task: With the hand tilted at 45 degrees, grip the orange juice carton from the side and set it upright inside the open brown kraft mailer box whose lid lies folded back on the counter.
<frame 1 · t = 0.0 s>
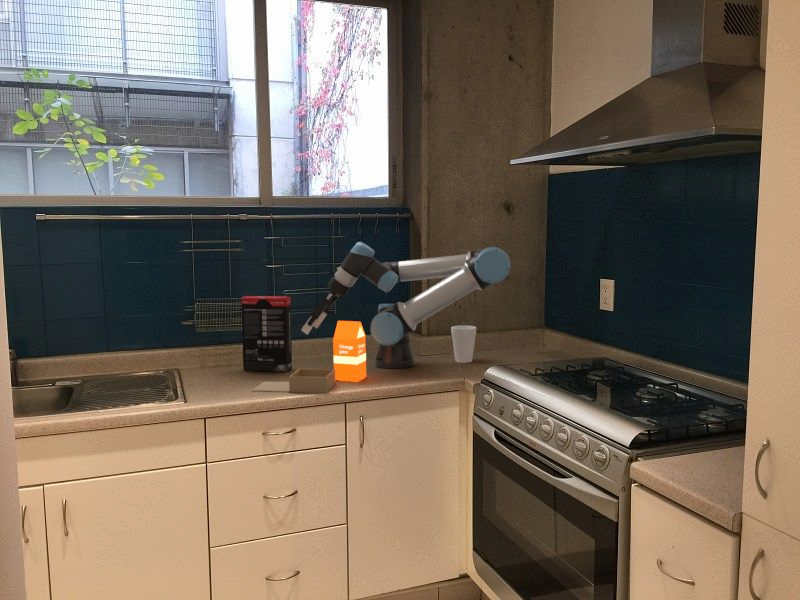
hand: (309, 329, 249), 15 cm above the worktop, tool tilted 35°, fingers open, 13 cm apart
graphics card box: (268, 370, 252), on the worktop
kraft mailer box: (313, 388, 225), on the worktop
orange juice: (350, 379, 238), on the worktop
foam cup: (463, 361, 265), on the worktop
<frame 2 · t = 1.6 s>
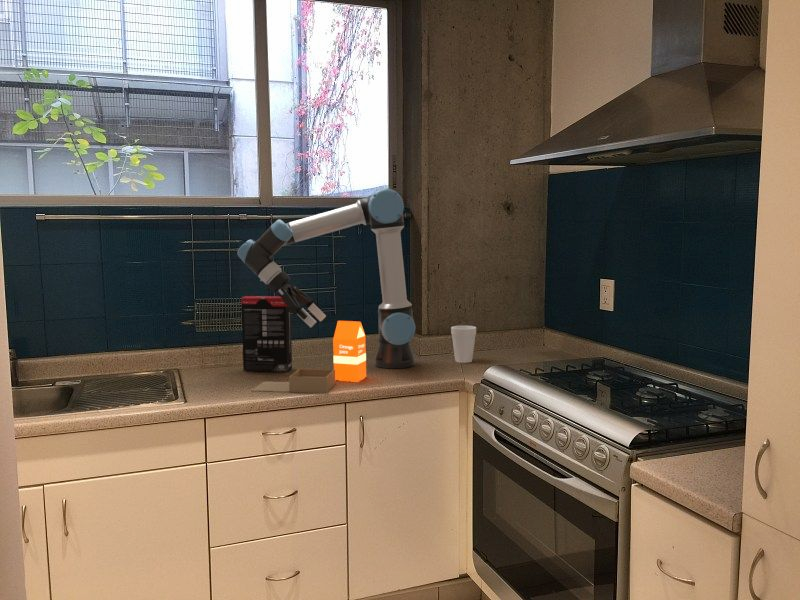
hand: (318, 321, 237), 20 cm above the worktop, tool tilted 45°, fingers open, 13 cm apart
nothing on the worktop moved.
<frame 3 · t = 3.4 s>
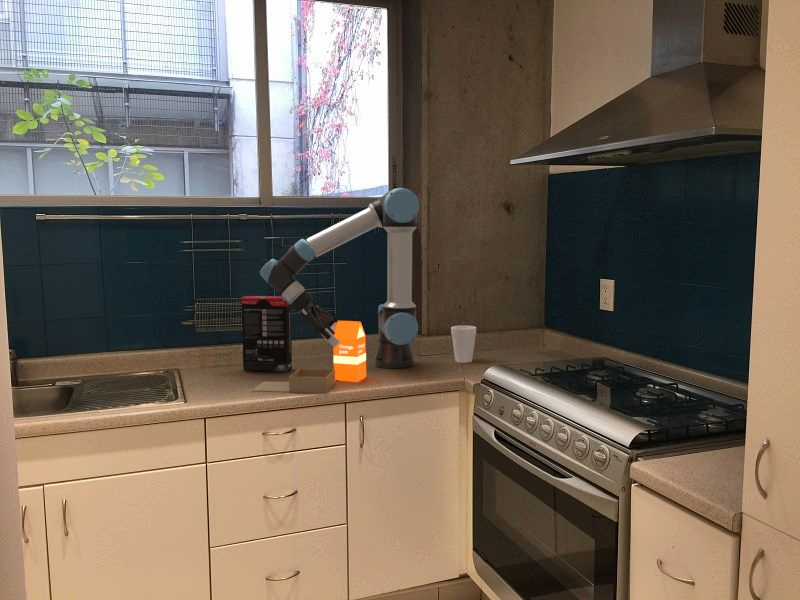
hand: (341, 341, 236), 13 cm above the worktop, tool tilted 45°, fingers open, 13 cm apart
nothing on the worktop moved.
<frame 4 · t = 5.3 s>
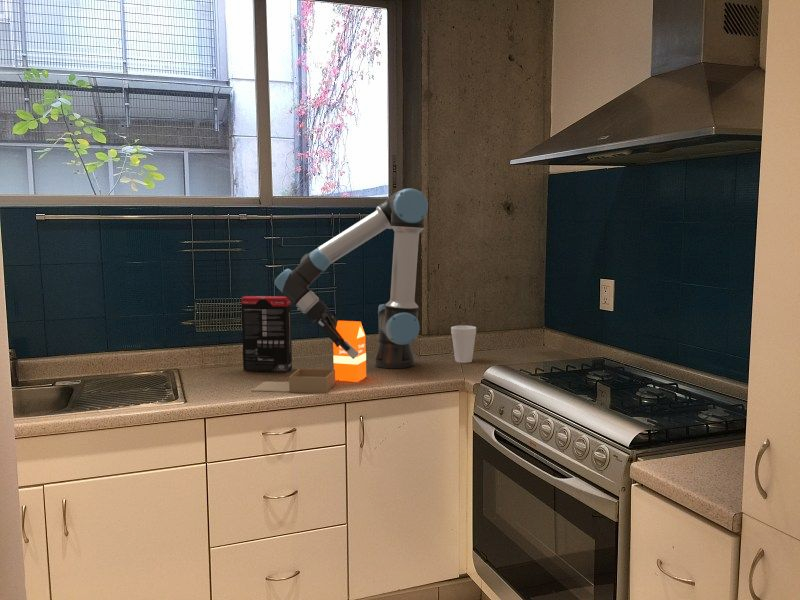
hand: (359, 353, 236), 9 cm above the worktop, tool tilted 45°, fingers closed on orange juice, 9 cm apart
orange juice: (350, 379, 238), on the worktop, touching gripper
everything else where it was.
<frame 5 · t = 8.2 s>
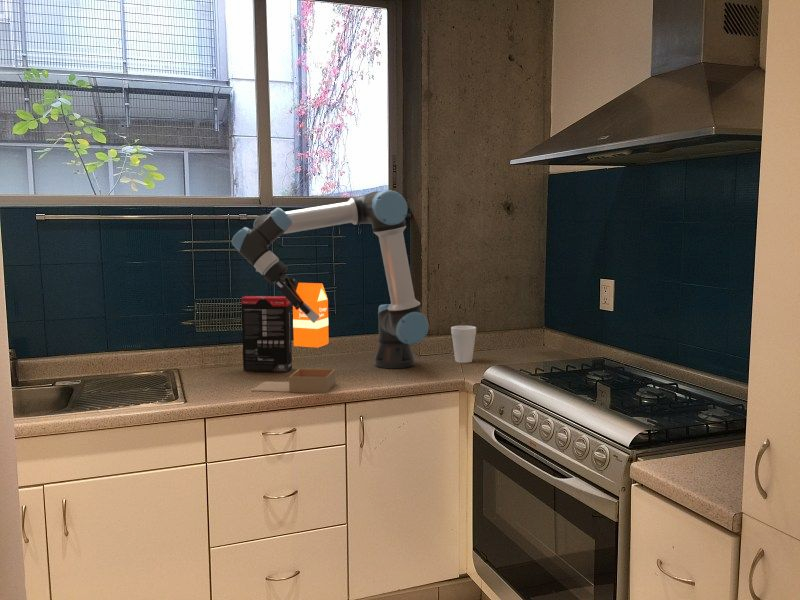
hand: (320, 317, 222), 23 cm above the worktop, tool tilted 45°, fingers closed on orange juice, 9 cm apart
orange juice: (311, 345, 224), point 14 cm above the worktop, touching gripper
everything else where it was.
when the fingers open (11 cm above the worktop, at t = 11.0 s): orange juice drops 2 cm, resting on kraft mailer box.
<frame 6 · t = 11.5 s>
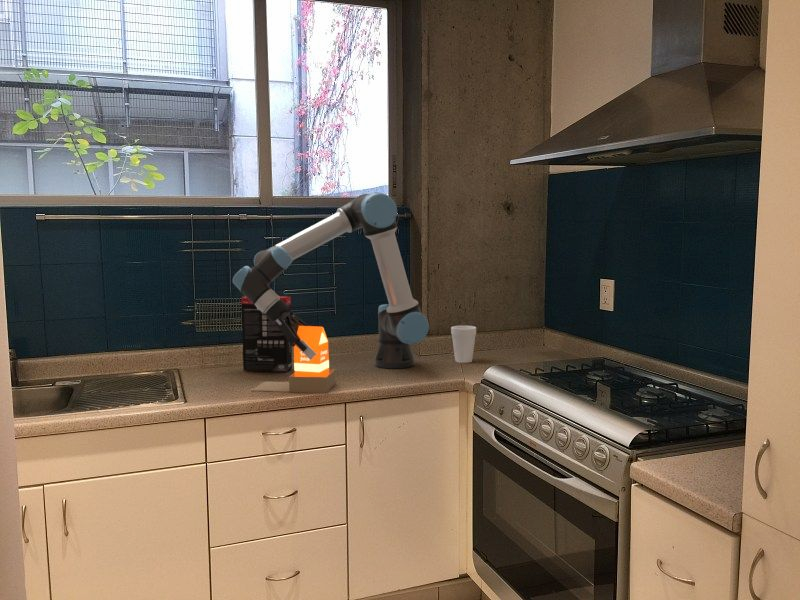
hand: (319, 352, 223), 12 cm above the worktop, tool tilted 45°, fingers open, 13 cm apart
orange juice: (312, 387, 225), resting on kraft mailer box
everything else where it was.
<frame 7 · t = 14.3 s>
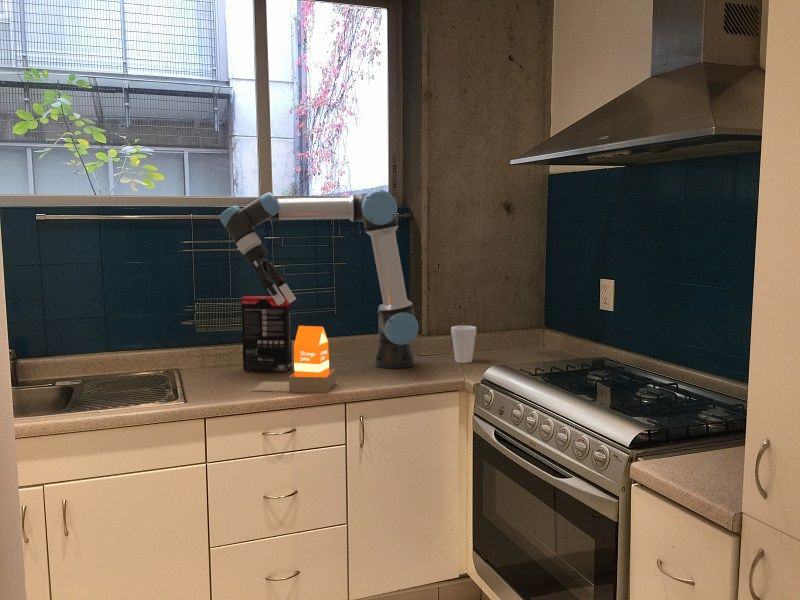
hand: (287, 302, 231), 27 cm above the worktop, tool tilted 35°, fingers open, 13 cm apart
nothing on the worktop moved.
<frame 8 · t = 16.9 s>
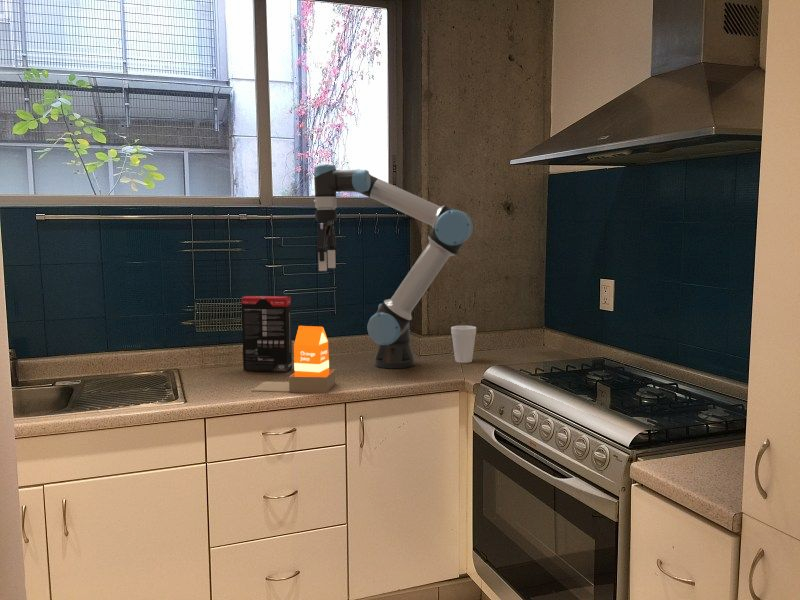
hand: (327, 269, 247), 37 cm above the worktop, tool pointing down, fingers open, 13 cm apart
nothing on the worktop moved.
at the end: orange juice 0.5 cm off-centre on the kraft mailer box, point 0.2 cm above the kraft mailer box's base; orange juice tilted 0°; the gripper is holding nothing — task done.
